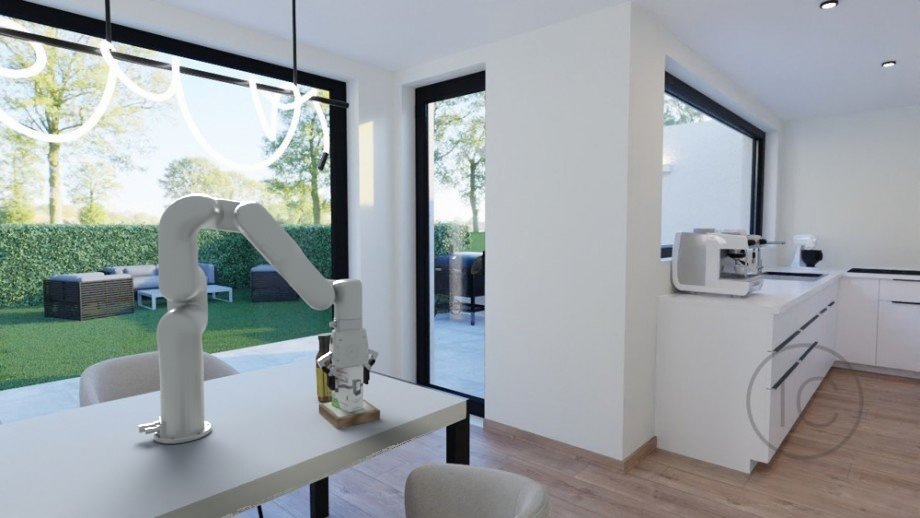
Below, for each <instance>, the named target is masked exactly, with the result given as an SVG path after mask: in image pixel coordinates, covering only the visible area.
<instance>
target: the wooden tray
mask: <svg viewBox="0 0 920 518" xmlns="http://www.w3.org/2000/svg"><path fill="white" fill-rule="evenodd" d="M318 413H319V414H320V415H321V416H322V417H323V419H325V420H327V422H329V424H331V425H332V426H333V427H335V428H336V429H337V430H338V429H339V430H340V429H343V428H344V429H345V428H347V427H352V426H358V425H361V424H366V423H369V422H370V423H371V422H373V421H374V422H375V421H379V420H381V410H380V409H378V408H377V407H376V406H374V405H373V404H371V403H369V402H368V401H367V400H365V399H364V398H363V408H362V409H359V410H356V411H352V412H347V411H345V410H343V409H340V408H338V407H335V406H333V405H332V401H329V402H324V403H323V402H322V403H319V404H318Z"/></svg>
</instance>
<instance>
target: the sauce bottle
mask: <svg viewBox="0 0 920 518" xmlns="http://www.w3.org/2000/svg"><path fill="white" fill-rule="evenodd" d="M330 338H331V333H329V332H326V333H319V334H318V335H317V339H318V351H317V354H316V355H315V377H316V396H317V400H318V401H319V402H324V403H327V402H332V390H331V389H329V387H328V386H327V374H326V373H325V372H324V371H322V370H321V369H320V367H319V365H318V363H317V360H318V359H319V358H321V357H322V356H324V355H325V354H327V353H328V352H329V346H330ZM324 364H325V366H326V367H327V368H328V367H329V365H330V363H329V359H328V360H327V361H325V363H324Z"/></svg>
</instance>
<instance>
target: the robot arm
mask: <svg viewBox="0 0 920 518" xmlns="http://www.w3.org/2000/svg"><path fill="white" fill-rule="evenodd" d="M201 229H203V230H205V229H206V230H214V231H223V232H229V233H238V234H240V233H241V234H242V235H243V237H244V238H245V239H246V240H248V242H249V243H250V244H251V245H252V246H253V247H254V248H255V249H256V250H257V251H258V253H260V255H261V257H263V258H264V260H266V262H267V263H269V264H270V266H271V268H273V270H275V271H276V272H277V273H278V274H279V275H280V276H281V277H282V278H283V279H284V280H285V281H286V282H287V284H288V285H289V286H290V287H291V288H292V289H293V290H294V291H295V292H296V293H297V295H299V297H300V298H301V299H302V300H303V301H304V302H305V303H306V305H308V306H309V307H310V308H311V309H313V310H316V311H324V310H327V309H329V308H330V307H331V306H334V307H333V311H334V312H333V320H332V321H329V325H328V326H329V328H333V329H332V331H331V333H330V334H331V338H330V346H329V352H328V353H327V354H325V355H324V356H322V357H321V358H319V359H318V360H317V363H318V365H319V367H320V369H321V370H322V371H324V372H325V373H326V374H327V386H328V387H329V389H331V390H332V391H334V390H335V376H334V375H333V374H334V372H335V371H336V370H337V369H342V368H348V367H354V366H359V365H362V366H363V385H364V384H365V385H366V386H368V385H369V382H370V379H371V378H370V376H371V373H370V372H371V371H370V370H372V367H373V366H374V365H375V364H376V360H377V358H378V357H379V352H378V351H375V350H373V349H370V348H369V341H368V335H367V330H366V327H363V283H362V281H361V280H360V279H357V278H356V279H355V278H341V279H329V278H325V277H324V275H322V273H320V271H319V270H318V269H317V268H316V267H315V265H314V264H312V262H311V261H310V260H309V259H308V257H307V256H306V255H305V253H304V252H303V250H302V248H301V247H300V245H299V244H297V242H296V241H295V239H294V238H292V237H291V235H290V234H289V233H288V232H287V231H286V230H285V228H284V227H283V226H282V225H281V224H280V223H279V222H278V221H277V220H276V218H275V217H274V216H273V215H272V214H271V213H270V212H269V211H268V210H267V209H266V208H265V206H263V204H261V203H260V202H257V201H254V200H249V201H239V200H238V201H237V200H232V199H231V200H230V199H225V198H218V197H212V196H210V195H208V194H205V193H201V192H200V193H199V192H198V193H191V194H188V195H184V196H182V197H180V198H177V199H176V200H175V201H173V202H172V203H171V204H169V205H168V207H166V209H165V210H164V212H163V213H162V215H161V217H160V219H159V222H158V231H157V243H158V245H157V246H158V253H157V254H158V255H157V258H158V261H157V262H158V289H159V292H160V295H162V296H163V298H164V299H166V306H167V312H165V314H163V315H162V316H161V318H160V319H159V322H158V323H157V327H156V333H155V334H156V344H157V350H158V366H159V367H158V368H159V391H160V392H159V393H160V394H159V395H160V397H159V400H160V415H159V416H158V420H154V421H153V422H150V423H143V424H142V423H141V424H138V433H139V434H142V433H145V435H148V434H149V435H150V434H152V433H153V440H154V441H155V442H156V443H159V444H166V445H168V444H169V445H170V444H171V445H172V444H173V445H174V444H182V443H188V442H193V441H195V440H198V439H201V438H204V437H205V436H207V435H208V434H210V432H211V431H212V428H213V427H212V424H211V423H210V422H209V421H207V420H205V383H204V381H205V379H204V378H205V377H204V373H205V372H204V352H203V350H204V349H203V340H202V339H203V333H204V332H205V330H206V329H207V326H208V321H209V309H208V308H209V307H208V305H209V304H208V280H207V276H206V273H205V271H204V269H202V268H201V267H200V266H199V244H198V234H199V231H200V230H201ZM370 355H371V356H370ZM328 359H329V363H330V365H329V367H328V368H327V367H326V366H325V364H324V363H325V361H327V360H328Z"/></svg>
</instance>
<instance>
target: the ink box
mask: <svg viewBox="0 0 920 518" xmlns="http://www.w3.org/2000/svg"><path fill="white" fill-rule="evenodd" d="M333 375H334V376H335V390H334V391H332V401H331V402H332V405H333V406H335V407H338V408H340V409H343V410H345V411H347V412H352V411H356V410H359V409H362V408H363V399H364V383H363V366H362V365H359V366H354V367H348V368H342V369H337V370H336V371H335V372H334V374H333Z"/></svg>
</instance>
